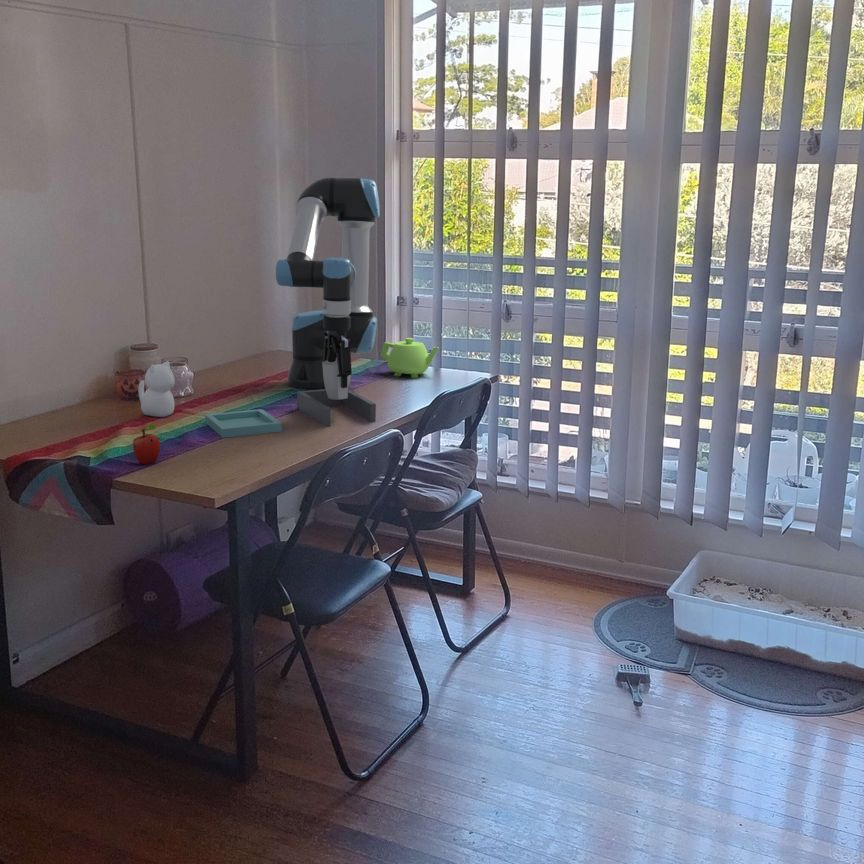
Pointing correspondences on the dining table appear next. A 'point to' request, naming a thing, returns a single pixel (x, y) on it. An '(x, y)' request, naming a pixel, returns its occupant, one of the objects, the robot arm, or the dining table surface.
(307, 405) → the bay
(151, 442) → the apple
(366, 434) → the dining table surface
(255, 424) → the tray
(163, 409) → the cat figurine
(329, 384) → the cup
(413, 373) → the teapot
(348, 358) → the robot arm
